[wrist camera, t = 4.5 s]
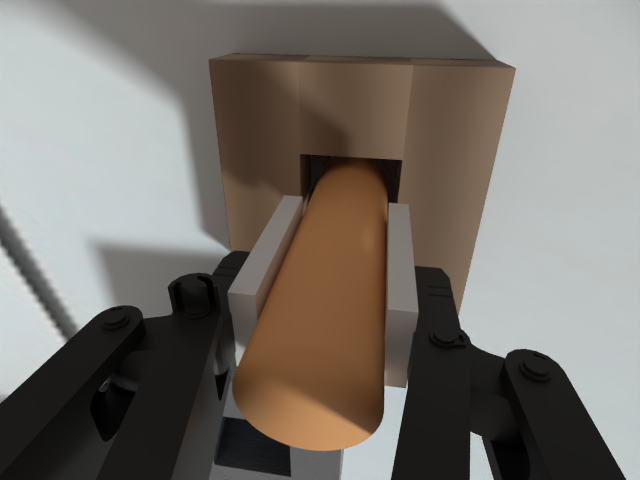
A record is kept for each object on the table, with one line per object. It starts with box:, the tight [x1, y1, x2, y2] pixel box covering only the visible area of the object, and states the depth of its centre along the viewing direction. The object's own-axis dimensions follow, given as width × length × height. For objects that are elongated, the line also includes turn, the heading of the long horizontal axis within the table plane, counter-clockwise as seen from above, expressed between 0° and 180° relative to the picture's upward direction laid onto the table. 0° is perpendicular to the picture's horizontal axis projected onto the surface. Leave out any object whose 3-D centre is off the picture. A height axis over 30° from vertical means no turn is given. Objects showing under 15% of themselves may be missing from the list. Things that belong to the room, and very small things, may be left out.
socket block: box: [209, 354, 344, 480], centre depth 27 cm, size 11×11×6 cm
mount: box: [209, 54, 516, 315], centre depth 20 cm, size 12×12×3 cm
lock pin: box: [232, 156, 388, 451], centre depth 15 cm, size 4×4×14 cm
